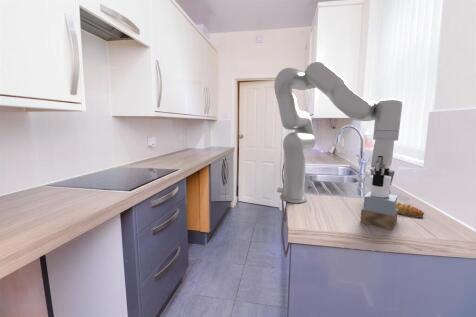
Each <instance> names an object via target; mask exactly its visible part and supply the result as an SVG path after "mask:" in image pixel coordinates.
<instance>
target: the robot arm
mask: <svg viewBox="0 0 476 317" xmlns="http://www.w3.org/2000/svg"><path fill="white" fill-rule="evenodd" d="M273 85H274V86H273V89H274V94H275V97H276V98H275V99H276V102H277V105H278V106H277V107H278V111H279V116H280V120H281V124H282V127H283V128H284V129H285V130H288V131H294V132H290V133H288V134H286V136H284V138H283V141H282V147H283V148H282V149H283V153H284V154H283V156H284V159H283V160H284V163H283V164H284V168H283V169H284V170H283V171H284V172H283V188H282V187H277V189H276V192H277V193H280V195H279V198H280V200H282V201H283V202H287V203H293V204H302V203H305V202H307V201H308V197H307V196H306V195H305V181H306V180H305V178H306V157H305V152H306V153H307V152H309V151H312V150H313V149H314V147H315V145H316V135H315V130H314V126H313V121H312V118H311V115H310V114H309V113H308V112H307V111H305V110H302V109H299V106H298V100H297V98H296V95H295V93H294V92H293V90H299V91H304V90H311V89H315V88H317V89H318V90H319V91H320V92H321V93H322V94H324V95H325V96H326V97H327V98H328V99H329V100H330V102H331V103H332V104H333V105H334V106H335V107H336V108H337V109H338V110H339V111H340V112H342V113H343V114H344V115H345V116H347V117H348V118H349V119H351V120H353V121H359V122H369V121H370V122H371V121H374V126H373V135H372V140H374V144H373V150H372V157H371V163H370V167H371V169H374V168H375V169H374V174H373V181H372V185H373V186H379V187H382V186H383V182H384V175H387V176H389V169H390V167H391V166H392V163H393V162H392V161H393V154H394V146H395V142H396V141H397V142H398V141H399V136H400V126H401V121H402V120H401V118H402V112H403V111H402V110H403V102H402V100H401V99H398V98H397V99H396V98H387V99H386V98H385V99H380V100H378V101H376V100H369V99H364V98H363V97H361V96H360V95H358V94H357V93H355V91H353V90H352V89H351V88H349V87H348V85H347V81H346V79H344V77H342V76H341V75H339V74H338V73H336V72H335V70H334V69H333V67H331V66H330V65H328V64H326V63H323V62H320V61H314V62H312V63H310V64H308V66H307V67H306V68H305V70H300V69H297V68H295V67H294V68H293V67H285V68H283V69H281V70H280V71H279V72H278V73H277V75H276V77H275V79H274V84H273Z"/></svg>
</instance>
